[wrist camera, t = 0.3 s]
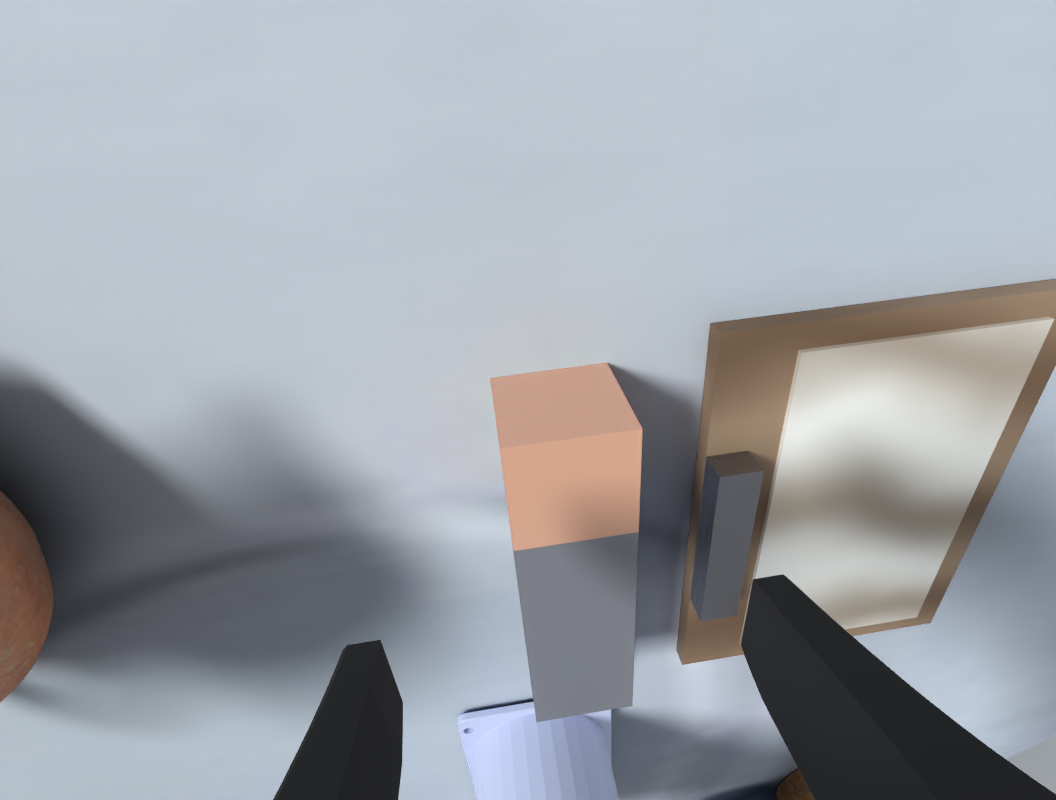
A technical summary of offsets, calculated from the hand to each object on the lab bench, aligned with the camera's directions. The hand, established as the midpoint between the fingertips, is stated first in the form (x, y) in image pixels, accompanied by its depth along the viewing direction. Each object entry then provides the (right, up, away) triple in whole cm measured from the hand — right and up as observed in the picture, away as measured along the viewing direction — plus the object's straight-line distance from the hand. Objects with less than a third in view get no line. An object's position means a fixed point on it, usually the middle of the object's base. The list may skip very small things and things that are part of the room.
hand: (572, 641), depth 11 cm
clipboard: (+12, 0, +13) cm, 18 cm away
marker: (0, 0, +12) cm, 12 cm away
